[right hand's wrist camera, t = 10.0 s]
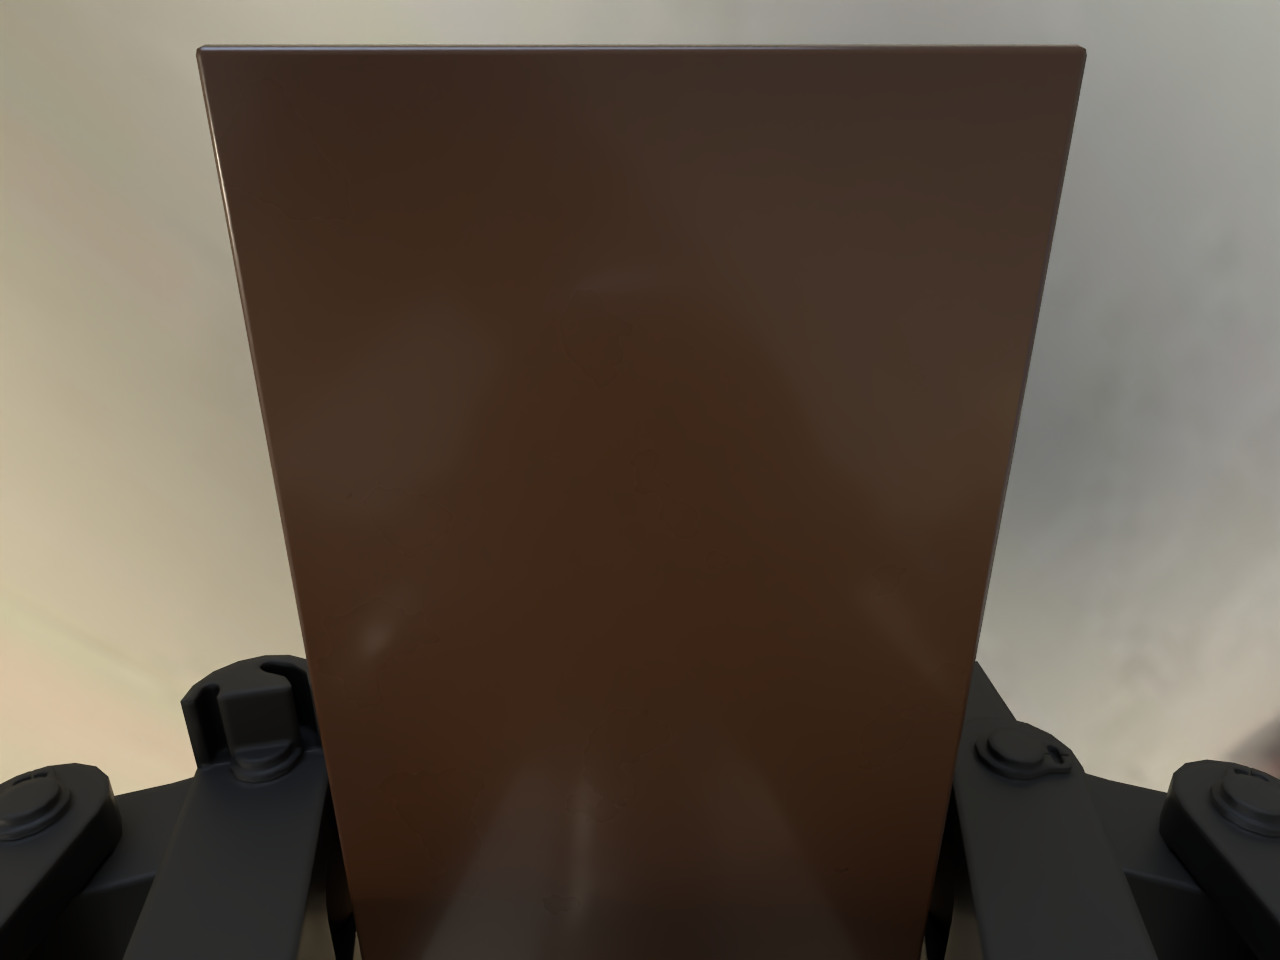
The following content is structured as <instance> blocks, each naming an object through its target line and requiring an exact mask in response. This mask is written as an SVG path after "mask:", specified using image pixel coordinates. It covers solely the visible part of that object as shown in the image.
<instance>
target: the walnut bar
mask: <svg viewBox="0 0 1280 960" xmlns="http://www.w3.org/2000/svg"><path fill="white" fill-rule="evenodd" d="M1086 57H1087V54H1086V49H1085V48H1083V47H1081V46H1079V45H204V46H202V47H200V48H198V49H197V52H196V58H197V63H198V69H199V74H200V80H201V85H202V91H203V96H204V101H205V107H206V112H207V118H208V123H209V129H210V134H211V140H212V145H213V151H214V156H215V161H216V167H217V172H218V178H219V183H220V189H221V194H222V200H223V205H224V211H225V216H226V222H227V227H228V232H229V238H230V243H231V249H232V254H233V260H234V265H235V271H236V276H237V282H238V287H239V293H240V298H241V303H242V309H243V314H244V320H245V325H246V331H247V336H248V342H249V347H250V353H251V358H252V363H253V369H254V374H255V380H256V385H257V391H258V396H259V402H260V407H261V413H262V418H263V424H264V429H265V434H266V440H267V445H268V451H269V456H270V462H271V467H272V473H273V478H274V484H275V489H276V494H277V500H278V505H279V511H280V516H281V522H282V527H283V533H284V538H285V544H286V549H287V555H288V560H289V565H290V571H291V576H292V582H293V587H294V593H295V598H296V604H297V609H298V615H299V620H300V625H301V631H302V636H303V642H304V647H305V653H306V658H307V664H308V669H309V675H310V680H311V686H312V691H313V696H314V702H315V707H316V713H317V718H318V724H319V729H320V735H321V740H322V746H323V751H324V756H325V762H326V767H327V773H328V778H329V784H330V789H331V795H332V800H333V806H334V811H335V817H336V822H337V827H338V833H339V838H340V844H341V849H342V855H343V860H344V866H345V871H346V877H347V882H348V888H349V893H350V898H351V904H352V909H353V915H354V920H355V926H356V931H357V937H358V942H359V948H360V953H361V958H362V960H920V957H921V952H922V946H923V941H924V935H925V930H926V924H927V919H928V914H929V908H930V903H931V897H932V892H933V886H934V881H935V876H936V870H937V865H938V859H939V854H940V849H941V843H942V838H943V832H944V827H945V821H946V816H947V811H948V805H949V800H950V794H951V789H952V783H953V778H954V773H955V767H956V762H957V756H958V751H959V745H960V740H961V735H962V729H963V724H964V718H965V713H966V707H967V702H968V697H969V691H970V686H971V680H972V675H973V670H974V664H975V659H976V653H977V648H978V642H979V637H980V632H981V626H982V621H983V615H984V610H985V604H986V599H987V594H988V588H989V583H990V577H991V572H992V566H993V561H994V556H995V550H996V545H997V539H998V534H999V528H1000V523H1001V518H1002V512H1003V507H1004V501H1005V496H1006V491H1007V485H1008V480H1009V474H1010V469H1011V463H1012V458H1013V453H1014V447H1015V442H1016V436H1017V431H1018V425H1019V420H1020V415H1021V409H1022V404H1023V398H1024V393H1025V387H1026V382H1027V377H1028V371H1029V366H1030V360H1031V355H1032V349H1033V344H1034V339H1035V333H1036V328H1037V322H1038V317H1039V312H1040V306H1041V301H1042V295H1043V290H1044V284H1045V279H1046V274H1047V268H1048V263H1049V257H1050V252H1051V246H1052V241H1053V236H1054V230H1055V225H1056V219H1057V214H1058V208H1059V203H1060V198H1061V192H1062V187H1063V181H1064V176H1065V171H1066V165H1067V160H1068V154H1069V149H1070V143H1071V138H1072V133H1073V127H1074V122H1075V116H1076V111H1077V105H1078V100H1079V95H1080V89H1081V84H1082V78H1083V73H1084V67H1085V62H1086Z"/></svg>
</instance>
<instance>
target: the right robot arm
mask: <svg viewBox="0 0 1280 960" xmlns="http://www.w3.org/2000/svg"><path fill="white" fill-rule="evenodd" d="M180 702H181V706H182V710H183V714H184V717H185V721H186V725H187V729H188V733H189V737H190V741H191V745H192V749H193V752H194V756H195V760H196V764H197V771H196V773H195V776H194V777H192V778H189V779H185V780H182V781H179V782H175V783H171V784H167V785H162V786H158V787H153V788H149V789H144V790H140V791H135V792H130V793H126V794H121V795H117V796H114V794H113V790H112V787H111V784H110V781H109V777H108V776H107V775H106V774H105V773H103V772H102V771H101V770H100V769H99V768H97V767H96V766H90V765H84V764H78V763H71V764H62V765H53V766H47V767H43V768H40V769H36V770H34V771H31V772H30V771H29V772H27V773H24V774H21V775H18V776H16V777H14V778H12V779H10V780H8V781H6V782H4V783H2V784H0V960H362V958H361V953H360V948H359V942H358V937H357V931H356V926H355V920H354V915H353V909H352V904H351V898H350V893H349V888H348V882H347V877H346V871H345V866H344V860H343V855H342V849H341V844H340V838H339V833H338V827H337V822H336V817H335V811H334V806H333V800H332V795H331V789H330V784H329V778H328V773H327V767H326V762H325V756H324V751H323V746H322V740H321V735H320V729H319V724H318V718H317V713H316V707H315V702H314V696H313V691H312V686H311V680H310V675H309V669H308V664H307V659H303V658H299V657H295V656H291V655H265V656H260V657H255V658H251V659H246V660H242V661H238V662H235V663H233V664H231V665H228V666H226V667H223V668H221V669H219V670H216V671H214V672H212V673H211V674H209V675H208V676H206V677H205V678H203V679H202V680H201V681H199V682H198V683H196V684H195V685H193V686H192V688H191V689H190V690H189V691H188V693H187V694H186V695H185V696H184V698H183V699H182V700H181V701H180ZM920 960H1280V780H1279V779H1277V778H1275V777H1273V776H1271V775H1269V774H1267V773H1265V772H1262V771H1259V770H1256V769H1254V768H1249V767H1247V766H1243V765H1239V764H1236V763H1231V762H1222V761H1214V760H1202V761H1196V762H1190V763H1185V764H1184V765H1183V766H1182V767H1180V768H1179V769H1178V770H1177V771H1176V772H1174V773H1173V776H1172V780H1171V783H1170V786H1169V789H1168V792H1167V793H1165V792H1161V791H1156V790H1152V789H1147V788H1143V787H1138V786H1133V785H1129V784H1124V783H1120V782H1115V781H1111V780H1107V779H1103V778H1100V777H1096V776H1093V775H1089V774H1086V773H1085V772H1084V769H1083V767H1082V765H1081V764H1080V762H1079V761H1078V759H1077V758H1076V757H1075V755H1074V754H1073V752H1072V751H1071V750H1070V749H1069V748H1068V747H1067V746H1065V745H1064V744H1063V743H1061V742H1060V741H1059V740H1058V739H1056V738H1055V737H1054V736H1053V735H1051V734H1049V733H1047V732H1045V731H1043V730H1040V729H1038V728H1036V727H1034V726H1032V725H1030V724H1028V723H1024V722H1020V721H1017V720H1016V719H1015V717H1014V716H1013V714H1012V713H1011V711H1010V710H1009V708H1008V707H1007V705H1006V704H1005V702H1004V701H1003V699H1002V698H1001V696H1000V695H999V693H998V692H997V690H996V689H995V687H994V686H993V684H992V683H991V681H990V680H989V678H988V677H987V675H986V674H985V672H984V671H983V669H982V668H981V666H980V665H979V663H978V662H977V661H975V664H974V670H973V675H972V680H971V686H970V691H969V697H968V702H967V707H966V713H965V718H964V724H963V729H962V735H961V740H960V745H959V751H958V756H957V762H956V767H955V773H954V778H953V783H952V789H951V794H950V800H949V805H948V811H947V816H946V821H945V827H944V832H943V838H942V843H941V849H940V854H939V859H938V865H937V870H936V876H935V881H934V886H933V892H932V897H931V903H930V908H929V914H928V919H927V924H926V930H925V935H924V941H923V946H922V952H921V957H920Z"/></svg>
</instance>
